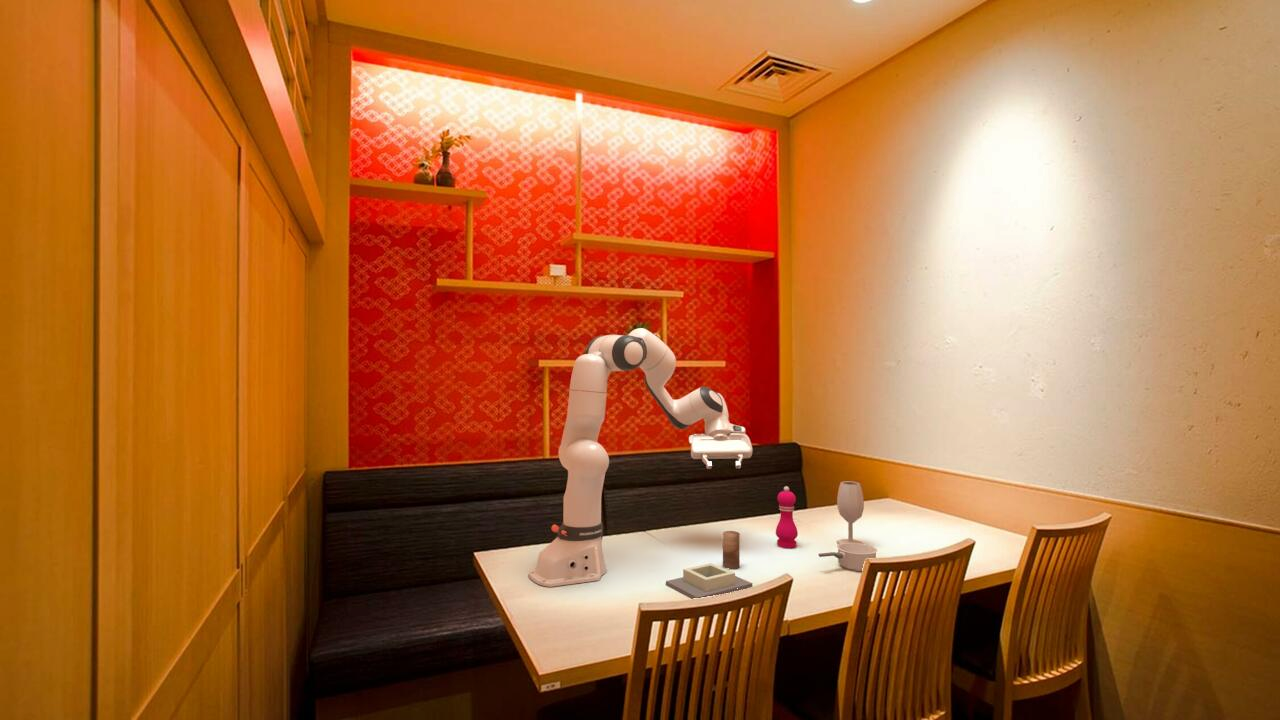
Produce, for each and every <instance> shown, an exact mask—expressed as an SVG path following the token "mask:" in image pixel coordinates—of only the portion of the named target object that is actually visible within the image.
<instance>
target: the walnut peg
mask: <svg viewBox="0 0 1280 720" xmlns="http://www.w3.org/2000/svg"><path fill="white" fill-rule="evenodd" d="M740 539H741V538H740V532H739V531H734V530H726V531H723V532H722V568H724V567H725V568H724V569H726V568H729V569H728V570H737V568H738V569H740V566H741V565H740V561H741V560H740V554H741V553H740V550H741V549H740V546H741V545H740V544H741V543H740V541H741V540H740Z"/></svg>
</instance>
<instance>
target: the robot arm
mask: <svg viewBox="0 0 1280 720" xmlns="http://www.w3.org/2000/svg"><path fill="white" fill-rule="evenodd" d="M676 359H677V358H676V356H675V354H674V352H673V350H672V349H671V348H670V347H669V346H668V345H667V344H666V343H664V341H662V340H661V339H660V338H659V337H658V336H656V335H655V334H654V333H652V332H651V331H649V330H648V329H647V328H642V327H639V328H635V329H633V330H632V331H630V332H629V333H628V334H627V335H626V334H625V335H620V334H607V335H599V336H596V337H595V338H593V339H591V340H590V341H589V342H588V344H587V346H586V348H585V351H584V353H583V354H581V355H579V356H578V357H577V358H576V359H575V362H574V365H573V366H572V367H573V368H572V372H571V378H570V382H569V383H570V384H569V390H568V391H569V394H568V403H567V414H566V420H565V423H564V424H565V425H564V428H563V431H562V432H563V433H562V438H561V441H560V443H561V444H560V445H559V448H558V458H559V461H560V464H561V466H562V468H565V470H567V481H566V488H565V492H564V494H563V512H562V513H563V519H562V520H563V522H562V523H561V525H560V526H559V525H557V524H552V526H551V531H552V532H554V533H557V536H556V537H555V539H553V540H552V541H551V543H549V544H548V545H547V546H546V547H545V548H543V550H542V551H540V552H539V554H538V557H537V561H536V567H535V568H531V569H530V570H529V571H528V577H529V579H530V580H531V581H532V582H534V583H535V584H538V585H540V586H543V587H547V588H548V587H549V588H550V587H552V588H553V587H559V586H566V585H574V584H581V583H589V582H596V581H600V580H601V578H602V576H603V575H604V574H606V573H607V571H608V570H607V567H606V563H605V558H604V553H603V543H602V542H603V536H604V535H603V522H602V496H603V495H602V493H603V488H604V482H605V476H606V472H607V470H608V469H609V465H610V458H609V455H608V453H607V451H606V449H605V448H604V446H603V445H602V444H600V443H599V442H598V439H599V435H600V432H601V427H602V425H603V423H604V421H605V418H606V416H605V415H606V408H607V407H606V405H607V395H608V394H607V393H608V392H607V391H608V379H609V376H610V374H611V372H628V371H634V370H635V369H637V368H638V367H639V368H640V369H641V370H642V371H643V373H644V374H645V375H644V377H643V382H644V385H645V387H646V388H647V390H648V392H649V393H650V394H651V396H652V398H653V399H654V400H655V402H656V403H657V405H659V406H660V408H661V409H662V411H663V412H664V413H665V415H666V418H667V419H668V421H669V422H670V424H671V425H672V426H673V427H674V428H676V429H680V430H686V429H687V428H689V427H691V426H692V425H693V424H695V423H697V422H698V421H699V422H700V420H702V419H703V421H704V432H705V433H692V434H691V435H689V436H688V443H689V445H690V456H691V458H692V459H693V460H702V462H703V463H704V464H705V466H706V469H707V470H709V469H710V470H711V469H712V468H713V465H712V461H709V460H712V459H713V460H714V459H737V460H736V461H735V464H734V465H735V469H742V468H741V467H742V462H743V459H750V458H751V457H752V455H753V451H754V450H753V446H752V442H751V439H750V437H749V436H748V435H747V434H746V428H745V427H744V426H740V425H736V424H733V423H730V420H729V416H730V415H729V411H728V405H727V403H726V401H725V397H723V395H722V394H721V393H719V392H717V391H716V390H714V389H712V388H710V387H708V386H701V387H698V388H696V389H695V390H693V391H692V392H691V391H690V392H689V393H688V394H686V395H684V396H683V397H681V398H679V399H673V397H672V396H671V395H670V393H669V392H668V390H667V389H666V388H665V387H664V386H665V385H666V384H667V382H668V381H669V380H670V379H671V378H672V376H673V374H674V372H675V370H676V367H677V360H676ZM708 459H709V460H708Z"/></svg>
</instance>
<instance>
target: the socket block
mask: <svg viewBox="0 0 1280 720" xmlns="http://www.w3.org/2000/svg"><path fill="white" fill-rule="evenodd" d="M682 572H683V573H682V574H683V575H682V577H679V578H678V577H677V578H674V579H670V580H665V585H666V586H667V585H668V586H667V587H669V586H670V587H669V588H671V589H673V590H674V591H677V592H678V593H680V594H683V595H685V596H686V597H689V598H690V599H692V600H694V599H693V598H701V597H707V596H713V595H719V594H724V593H728V592H731V593H733V592H732V591H735V592H737V591H736V590H739V591H742V590H741V589H743V590H746V589H749V588H748V587H750V588H752V587H753V582H750V581H748V580H746V579H743V578H741V577H739V576H736V573H735V572H734V571H732V570H730V569H726V568H724V567H723V566H719V565H716V564H715V563H712V562H710V563H706V564H702V565H697V566H693V567H688V568H683V569H682ZM751 586H752V587H751ZM737 588H738V589H737ZM745 588H746V589H745ZM728 594H729V593H728ZM724 595H725V594H724Z"/></svg>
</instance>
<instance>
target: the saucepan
mask: <svg viewBox="0 0 1280 720" xmlns="http://www.w3.org/2000/svg"><path fill="white" fill-rule="evenodd" d="M836 548H837V550H838V551H837V552H832V551H830V552H821V553H818V557H819V558H822V557H823V558H825V557H835V558H836V559H837V561H838V564H839V565H840V566H842V567H843V568H845V569H847V570H851V571H855V572H863V571H862V568H863V564H864V561H865V559H866V558H876V559H877V552H878V549H877V548H876V547H874V546H872V545H869V544H865V543H864V544H859V543H842V544H837V545H836Z"/></svg>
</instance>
